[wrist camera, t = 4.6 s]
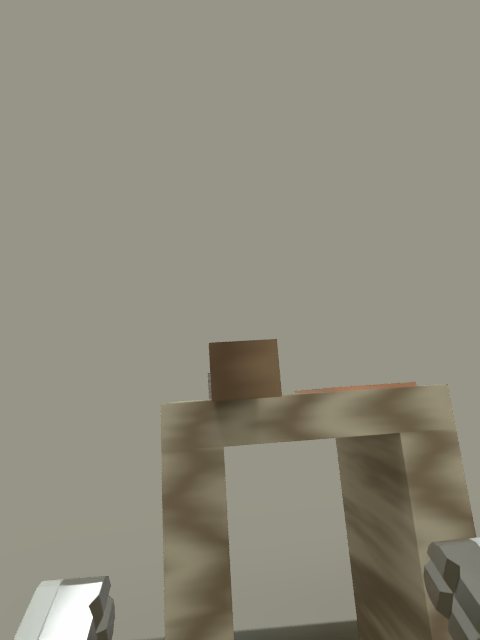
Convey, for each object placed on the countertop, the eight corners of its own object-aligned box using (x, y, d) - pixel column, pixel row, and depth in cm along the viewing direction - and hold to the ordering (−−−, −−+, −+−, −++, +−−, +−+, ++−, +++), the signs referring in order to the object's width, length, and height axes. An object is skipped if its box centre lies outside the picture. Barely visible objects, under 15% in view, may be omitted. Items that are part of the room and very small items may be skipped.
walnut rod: (199, 402, 15) (197, 343, 15) (209, 399, 36) (208, 375, 37) (293, 396, 15) (287, 338, 16) (248, 397, 37) (246, 372, 37)
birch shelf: (170, 929, 18) (160, 399, 23) (190, 699, 32) (181, 398, 37) (537, 862, 19) (446, 379, 25) (405, 671, 33) (365, 386, 39)
